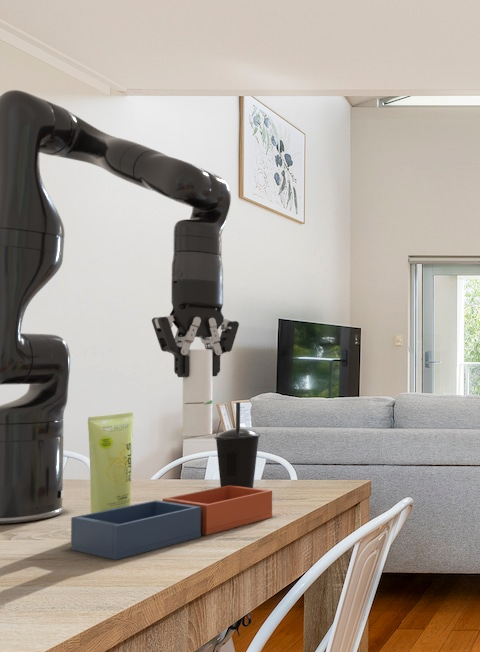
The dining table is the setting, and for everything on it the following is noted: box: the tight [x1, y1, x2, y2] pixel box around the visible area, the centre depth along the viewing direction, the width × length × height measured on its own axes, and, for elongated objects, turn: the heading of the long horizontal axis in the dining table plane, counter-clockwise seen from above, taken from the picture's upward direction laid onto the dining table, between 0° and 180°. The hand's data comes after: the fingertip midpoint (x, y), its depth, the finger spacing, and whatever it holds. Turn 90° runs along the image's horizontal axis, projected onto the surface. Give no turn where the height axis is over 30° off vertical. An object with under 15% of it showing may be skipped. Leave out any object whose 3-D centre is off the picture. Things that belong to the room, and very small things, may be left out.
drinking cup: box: [214, 402, 261, 488], centre depth 113 cm, size 8×8×20 cm
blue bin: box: [70, 499, 202, 560], centre depth 89 cm, size 12×12×5 cm
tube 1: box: [87, 411, 134, 514], centre depth 94 cm, size 6×5×20 cm
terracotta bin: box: [162, 485, 273, 536], centre depth 101 cm, size 12×12×5 cm
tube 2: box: [182, 348, 213, 437], centre depth 102 cm, size 4×4×15 cm
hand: (197, 376), depth 102 cm, fingers closed on tube 2, 4 cm apart
